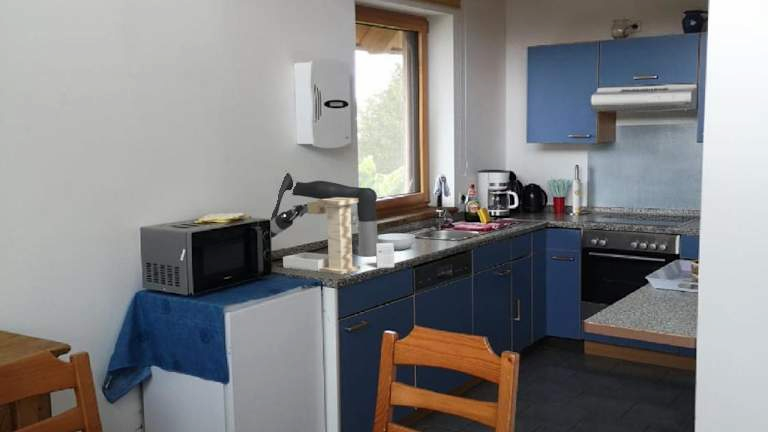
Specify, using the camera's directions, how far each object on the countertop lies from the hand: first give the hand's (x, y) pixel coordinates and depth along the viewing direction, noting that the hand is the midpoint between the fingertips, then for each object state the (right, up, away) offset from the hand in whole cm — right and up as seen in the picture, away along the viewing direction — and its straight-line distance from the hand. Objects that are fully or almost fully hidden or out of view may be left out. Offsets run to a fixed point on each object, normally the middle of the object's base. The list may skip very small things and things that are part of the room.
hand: (304, 206), depth 359 cm
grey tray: (+3, -28, +3) cm, 28 cm away
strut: (+2, -3, -1) cm, 4 cm away
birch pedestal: (+17, -29, -8) cm, 34 cm away
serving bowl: (+42, -22, +49) cm, 68 cm away
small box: (+37, -28, -1) cm, 46 cm away
